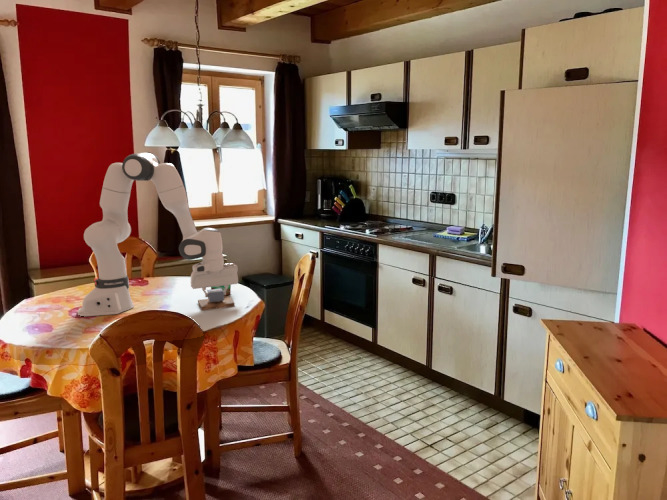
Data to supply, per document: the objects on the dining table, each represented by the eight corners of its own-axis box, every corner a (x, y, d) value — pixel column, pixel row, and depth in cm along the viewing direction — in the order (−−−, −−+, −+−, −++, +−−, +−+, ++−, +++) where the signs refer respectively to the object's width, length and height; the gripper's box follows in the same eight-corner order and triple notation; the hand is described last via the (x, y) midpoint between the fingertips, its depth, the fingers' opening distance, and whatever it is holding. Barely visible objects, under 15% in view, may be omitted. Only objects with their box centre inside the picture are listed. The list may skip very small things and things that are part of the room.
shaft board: (201, 310, 229) (201, 300, 228) (198, 303, 240) (197, 293, 239) (234, 306, 234) (234, 296, 233) (229, 299, 245) (228, 289, 244)
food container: (218, 299, 245) (217, 278, 243) (209, 297, 249) (208, 276, 247) (238, 293, 255) (237, 272, 253) (229, 291, 258) (228, 271, 256)
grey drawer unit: (210, 302, 232) (209, 292, 231) (208, 298, 237) (207, 289, 237) (224, 300, 234) (223, 291, 233) (221, 297, 239) (221, 287, 239)
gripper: (235, 261, 239) (237, 291, 242) (188, 266, 232) (191, 297, 235) (238, 264, 234) (240, 294, 236) (190, 269, 226) (193, 300, 229)
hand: (215, 296), depth 235 cm, fingers closed on grey drawer unit, 6 cm apart
